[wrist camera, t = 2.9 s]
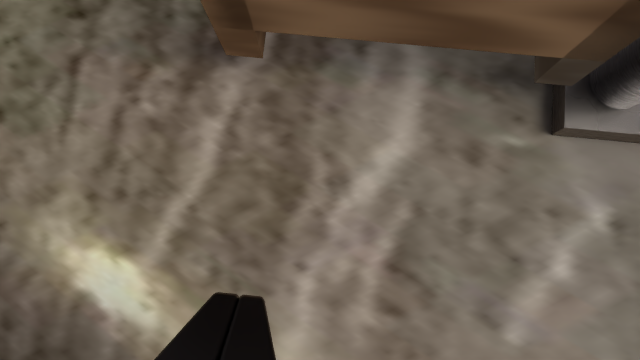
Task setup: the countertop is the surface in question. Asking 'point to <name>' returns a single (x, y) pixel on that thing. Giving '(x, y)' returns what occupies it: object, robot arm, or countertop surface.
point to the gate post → (602, 101)
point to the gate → (445, 27)
